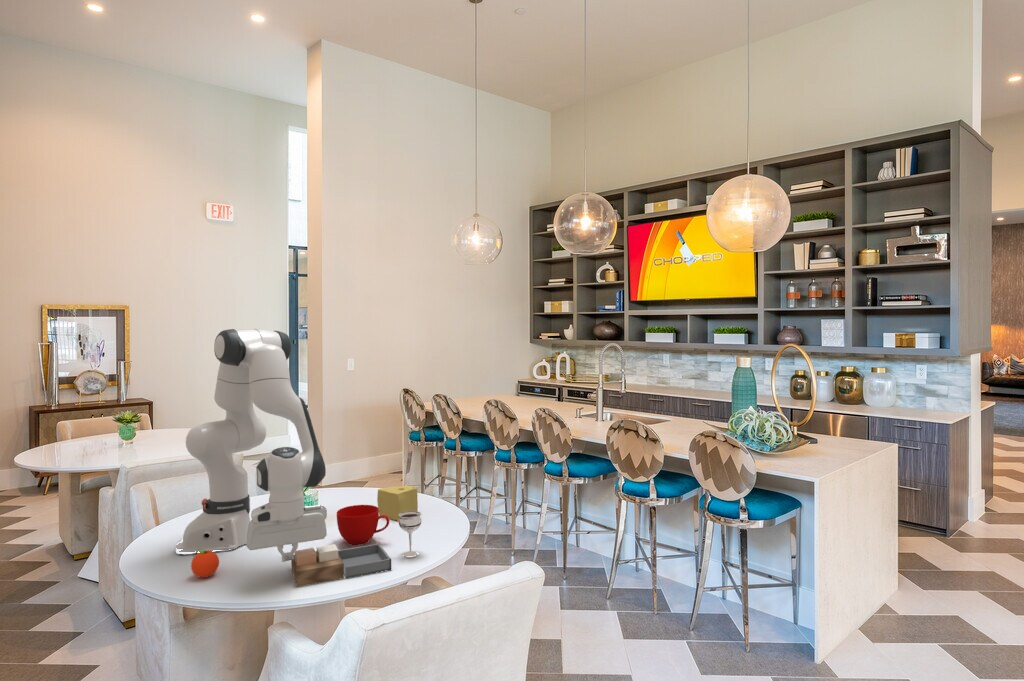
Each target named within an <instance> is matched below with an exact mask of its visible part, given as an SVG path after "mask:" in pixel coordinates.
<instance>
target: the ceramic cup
mask: <svg viewBox="0 0 1024 681" xmlns="http://www.w3.org/2000/svg"><path fill="white" fill-rule="evenodd" d="M336 511H337V512H336V525H337V529H338V531H339V534H340V536H341V538H342V539H343V541H345V542H346V543H347V545H349V546H356V547H357V546H363V545H366V544H368V543H369V542H370V541H371V539H372V538H373V537H374V535H375V534H378V533H380V532H383V531H384V530H387V528H388V527H389V525H390V519H389V518H388V516H386V515H379V508H378V506H375V505H373V504H354V505H349V506H345V507H342V508H340V509H338V510H336ZM382 518H383V519H385V520H386V524H385V525H384V527H382V528H379V529H378V525H379V520H380V519H382Z"/></svg>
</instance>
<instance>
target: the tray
mask: <svg viewBox="0 0 1024 681" xmlns="http://www.w3.org/2000/svg"><path fill="white" fill-rule="evenodd" d="M338 554H339V556H340V558H341V560H342V561H343V563H344V578H345V579H350V578H349V577H351V578H356V577H360V576H361V575H362V576H366V575H367V576H368V575H372V574H376V572H378V573H382V572H381V571H383V572H386V571H385V570H388V571H392V570H391V569H392V558H391V557H390V556H389V555H388V553H387V552H386V550H385V549H384V547H382V545H381V544H380V543H375V544H369V545H364V546H363V545H361V546H356V547H351V548H350V547H349V548H345V549H338ZM371 573H372V574H371ZM355 576H356V577H355Z"/></svg>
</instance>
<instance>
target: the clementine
mask: <svg viewBox="0 0 1024 681" xmlns="http://www.w3.org/2000/svg"><path fill="white" fill-rule="evenodd" d="M199 552H200V553H198V554H196V553H197V552H196V553H195V554H192V556H193V557H192V560H191V563H190V564H191V565H190V569H191V572H192V574H194V576H196V577H199V578H207V577H206V576H208V577H211V576H213V575H214V574H215V573H216V571H217V570H218V569H219V566H220V559H219V558H220V557H219V556H218V554H217V553H216V552H212V551H204V550H203V551H199ZM210 575H211V576H210Z"/></svg>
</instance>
